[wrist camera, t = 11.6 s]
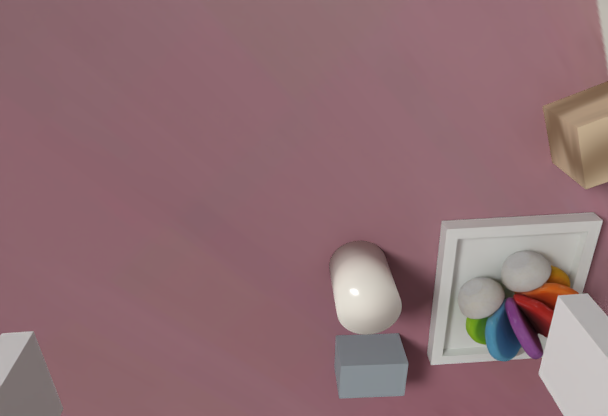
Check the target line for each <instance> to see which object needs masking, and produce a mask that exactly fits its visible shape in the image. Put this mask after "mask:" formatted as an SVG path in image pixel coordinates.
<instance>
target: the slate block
mask: <svg viewBox="0 0 608 416" xmlns="http://www.w3.org/2000/svg"><path fill="white" fill-rule="evenodd" d="M334 367H335V374H336V381H337V388H338V394H339V398H361V397H385V396H404V393H405V385H406V378H407V371H408V360H407V357H406V354H405V351H404V348H403V345H402V342H401V339H400V335H399V333H396V334H368V335H340V336H336V344H335V366H334Z"/></svg>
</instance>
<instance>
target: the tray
mask: <svg viewBox="0 0 608 416" xmlns="http://www.w3.org/2000/svg"><path fill="white" fill-rule="evenodd" d="M602 222H603V220H602V219H601V218H600V217H598V216H597V215H596V214H595V213H594V212H590V213H573V214H555V215H537V216H520V217H502V218H485V219H467V220H449V221H442V223H441V232H440V241H439V250H438V259H437V268H436V277H435V286H434V295H433V304H432V314H431V323H430V332H429V341H428V350H427V356H428V358H429V361H430V364H431V365H439V364H454V363H469V362H484V361H499V360H496V359H494V358H493V357H492V356H491V355H490V353H489V351H488V349H487V345H484V344H479V343H477V342H475V341H474V340H473V339H472V338H471V337H470V336H469V334H468V333H467V330H466V318H467V317H466V316H464V315H463V314H462V312H461V310H460V308H459V305H458V294H459V291H460V289H461V287H462V286H463V285H464V284H465V283H466V282H467V281H469V280H470V279H473V278H477V277H486V278H490V279H493V280H495V281H496V282H498V283H500V284H501V286H502V288H503V289H504V293H505V298H508V297H513V295H514V292H513V291H511V290H509V289H508V288H506V287H505V285H504V284H503V283H502V278H501V269H502V266H503V263H504V262H505V260H506V259H507V258H508V257H509V256H510V255H512V254H513V253H516V252H518V251H524V250H529V251H534V252H537V253H539V254H541V255H543V256H544V257H545V258H546V259H547V260H548V261H549V263H550V265H551V266H555V267H558V268H560V269H561V270H563V271H564V272H565V273H566V274H567V275H568V277H569V279H570V288H572V289H574V290H575V291H577V292H578V293H579V294H582V293H583V289H584V286H585V282H586V279H587V275H588V272H589V268H590V265H591V261H592V258H593V254H594V251H595V247H596V243H597V240H598V236H599V233H600V229H601V226H602ZM538 337H539V339H540V342H541V345H542V348H543V354H544V350H545V346H546V342H547V337H545V336H543V335H541V334H538ZM528 358H531V357H530V356H528V355H527V353H526V352H524V353H523V354H521V355H518V356H515V357H514V358H513V359H528ZM541 358H543V356H542V357H541ZM513 359H511V360H513Z"/></svg>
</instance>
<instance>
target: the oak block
mask: <svg viewBox="0 0 608 416" xmlns="http://www.w3.org/2000/svg"><path fill="white" fill-rule="evenodd" d="M543 111H544V117H545V123H546V129H547V134H548V140H549V146H550V152H551V157H552V163H554V164H555V165H556V166H557V167H559V168H560V169H561V170H562V171H563V172H565V173H566V174H567V175H568V176H570V177H571V178H572V179H573V180H575V181H576V182H577V183H578V184H580V185H581V186H582V187H583V188H585V189H589V188H592V187H594V186H597V185H600V184H603V183H606V182H608V81H607V82H605V83H602V84H599V85H597V86H594V87H592V88H589V89H586V90H584V91H581V92H579V93H576V94H573V95H571V96H568V97H565V98H563V99H560V100H558V101H555V102H552V103H550V104H547V105H545V106H543Z"/></svg>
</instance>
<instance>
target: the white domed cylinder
mask: <svg viewBox="0 0 608 416" xmlns="http://www.w3.org/2000/svg"><path fill="white" fill-rule="evenodd" d="M329 271H330V276H331V282H332V288H333V294H334V299H335V305H336V311H337V316H338V319H339V321H340V323H341V324H342V325H343V326H344V327H345V328H346V329H348V330H349V331H351V332H354V333H357V334H364V335H365V334H375V333H379V332H381V331H384V330H386V329H387V328H389V327H390V326H392V325H393V324H394V323H395V322H396V320H397V319H398V318H399V316H400V313H401V309H402V303H401V299H400V296H399V294H398V291H397V288H396V285H395V282H394V280H393V277H392V274H391V271H390V268H389V266H388V263H387V260H386V257H385V254H384V253H383V251H382V250H381V249H380V248H379V247H378V246H377V245H375V244H373V243H371V242H368V241H353V242H349V243H346V244H344V245H342V246H341V247H339V248H338V249H337V250H336V251H335V252H334V254H333V255H332V257H331V259H330V263H329Z"/></svg>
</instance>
